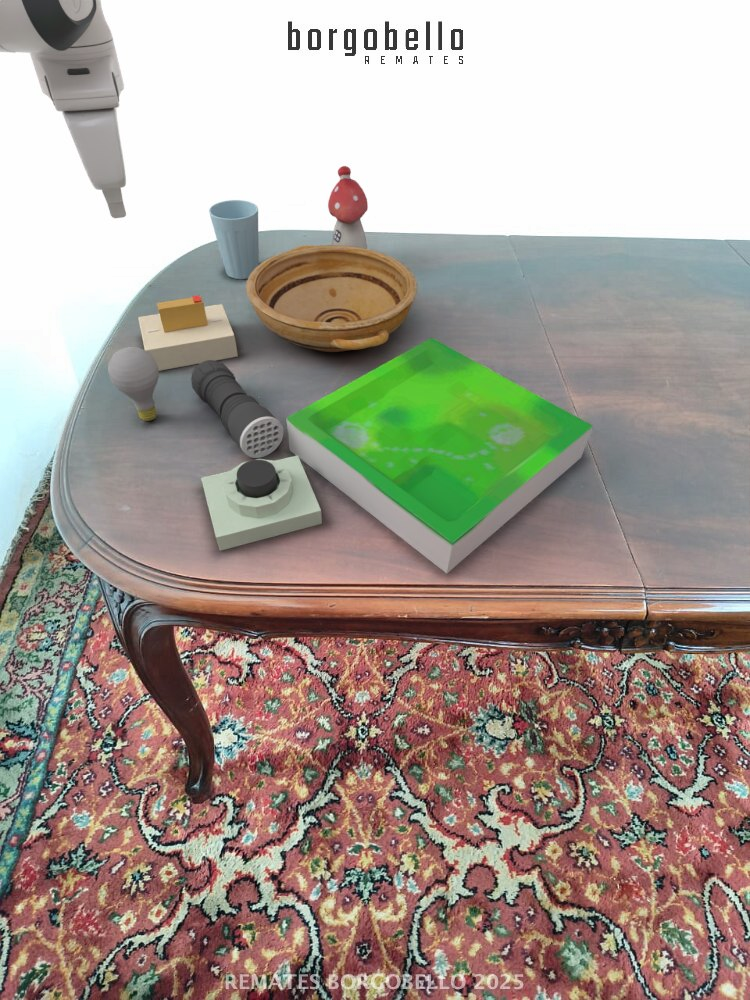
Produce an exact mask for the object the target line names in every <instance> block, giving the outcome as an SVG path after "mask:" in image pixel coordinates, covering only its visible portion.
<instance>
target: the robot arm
mask: <svg viewBox="0 0 750 1000" xmlns="http://www.w3.org/2000/svg"><path fill="white" fill-rule="evenodd" d="M0 53H14V54H15V53H25V54H27V53H28V54H29V55H30V58H31V61H32V65H33V67H34V71H35V73H36V77H37V80H38V83H39V85H40V90H41V92H42V93H43V95H45V96H46V97H48V98H49V100H50V101H52V104H53V106H54V108H55V110H56V111H57V112H61V114H62V117H63V118H64V121H65V123H66V126H67V128H68V130H69V133H70V135H71V138H72V140H73V143H74V146H75V148H76V151H77V153H78V155H79V158H80V160H81V163H82V165H83V168H84V171H85V172H86V175H87V177H88V179H89V181H90V183H91V185H92V186H93V188H94V189H95V190H98V191H102V195H103V197H104V199H105V201H106V204H107V207H108V210H109V214H110V216H111V218H113V219H122V218H125V217H126V216H127V212H126V208H125V204H124V199H123V194H122V188H124V187H126V185H127V178H126V177H127V176H126V168H125V167H126V166H125V162H124V161H125V160H124V155H123V149H122V142H121V135H120V129H119V121H118V111H117V108H119V107H120V95H121V92H122V91H124V90H125V84H124V80H123V75H122V71H121V67H120V62H119V59H118V54H117V50H116V46H115V42H114V38H113V33H112V31H111V29H110V26H109V24H108V22H107V20H106V18H105V14H104V11H103V7H102V0H0Z"/></svg>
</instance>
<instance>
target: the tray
mask: <svg viewBox="0 0 750 1000" xmlns="http://www.w3.org/2000/svg"><path fill="white" fill-rule="evenodd" d="M285 418H286V428H287V439H288V447H289V448H288V449H289V451H290V452H291V453H292V454H294V456H297V455H298V456H299V459H300V461H302V462H304V463H305V464H306V465H308V466H309V467H310V468H312V469H313V470H314V471H315V472H316V473H318V474H319V475H320V476H322V477H323V478H324V479H325V480H327V481H328V482H329V483H330V484H332V485H333V486H335V487H336V488H337V489H338V490H340V491H341V492H342V493H343V494H344V495H346V496H347V497H348V498H349V499H351V500H352V501H353V502H354V503H356V504H357V505H359V506H360V507H361V508H362V509H364V510H365V511H366V512H367V513H369V515H371V516H373V517H374V518H375V519H376V520H378V521H379V522H380V523H381V524H383V525H384V526H385V527H386V528H388V529H389V530H390V531H392V533H394V534H395V535H396V536H397V537H399V538H400V539H402V540H403V541H404V542H405V543H406V544H408V545H409V546H411V547H412V548H413V549H414V550H416V551H417V552H418V553H420V554H421V555H422V556H423V557H424V558H426V559H427V560H429V562H431V563H432V564H433V565H435V566H436V567H438V569H440V570H441V571H442V572H444V573H445V575H446V574H448V573H449V572H451V571H452V570H453V569H454V568H455V567H457V566H458V565H459V564H460V563H461V562H462V561H464V559H465V558H467V557H468V556H469V555H470V554H471V553H472V552H473V551H475V550H476V549H477V548H478V547H479V546H481V545H482V544H483V543H485V541H487V540H488V539H489V538H490V537H491V536H492V535H494V534H495V533H496V532H497V531H498V530H499V529H500V528H502V527H503V526H504V525H505V524H506V523H507V522H509V521H510V520H511V519H512V518H513V517H514V516H515V515H516V514H519V512H520V511H521V510H522V509H523V508H525V507H526V506H527V505H528V504H529V503H531V502H532V501H533V500H534V499H535V498H536V497H538V496H539V494H541V493H542V492H543V491H545V489H547V488H548V487H549V486H550V485H551V484H553V483H554V482H555V481H556V480H557V479H558V478H560V477H561V476H562V475H563V474H564V473H565V472H566V471H568V470H569V469H570V468H571V467H572V466H573V465H575V464H576V463H577V462H578V461H579V460H581V458H582V457H583V454H584V451H585V449H586V446H587V444H588V442H589V440H590V436H591V434H592V430H593V428H594V425H593V424H590V423H589V422H587V421H586V420H584V419H581V418H580V417H578V416H576V415H575V414H573V413H570V412H569V411H567V410H565V409H563V408H561V407H560V406H558V405H556V404H555V403H552V402H550V401H549V400H547V399H545V398H543V397H541V396H539V395H538V394H536V393H534V392H532V391H530V390H528V389H527V388H526V387H525V388H524V387H523V386H521V385H520V384H518V383H515V382H514V381H512V380H510V379H508V378H506V377H505V376H503V375H501V374H499V373H497V372H495V371H494V370H492V369H490V368H488V367H487V366H485V365H483V364H481V363H479V362H477V361H475V360H473V359H472V358H470V357H468V356H466V355H464V354H462V353H461V352H460V351H457V350H456V349H453V348H451V347H449V346H448V345H446V344H444V343H442V342H440V341H439V340H437V339H435V338H433V337H430V338H429V339H427V340H425V341H423V342H421V343H419V344H417V345H416V346H414V347H412V348H410V349H408V350H407V351H405V352H403V353H400V354H399V355H397V356H396V357H394V358H392V359H391V360H388V361H386V362H385V363H383V364H381V365H379V366H378V367H376V368H373V369H372V370H370V371H369V372H367V373H365V374H363V375H361V376H360V377H358V378H356V379H354V380H352V381H351V382H348V383H347V384H346V385H343V386H341V387H339V388H338V389H336V390H334V391H333V392H331V393H329V394H327V395H325V396H324V397H321V398H320V399H318V400H316V401H314V402H313V403H311V404H309V405H307V406H305V407H303V408H301V409H300V410H298V411H295V412H294V413H293V414H291V415H289V416H288V417H285Z"/></svg>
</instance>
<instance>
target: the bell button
mask: <svg viewBox="0 0 750 1000" xmlns="http://www.w3.org/2000/svg"><path fill="white" fill-rule="evenodd" d="M265 460H266V459H265ZM265 460H256V459H252V460H248V462H247V461H245V462H246V463H244V464H243V465H241V466H240V467H239V469H238V471H237V480H238V485H239V489H240V491H241V492H242V493H243V494H244V495H245V496H248V497H251V498H260V497H265V496H267V495H269V494H271V493H272V492H273V491H274V490H275V489H276V487H277V477H276V470H275V467H274V466H273V465H272V464H271V463H270V462H268V461H265Z"/></svg>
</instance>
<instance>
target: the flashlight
mask: <svg viewBox="0 0 750 1000" xmlns="http://www.w3.org/2000/svg"><path fill="white" fill-rule="evenodd" d="M190 381H191V387H192V389H193V391H194V392H195V394H196V395H197V396H198V397H199V399H200V400H202V402H204V403H205V404H208V405H209V406H210V408H211V409H212V410H214V411H215V412H216V413H217V414H218V415H219V416H220V419H221V423H222V424H223V426H224V427H225V429H226V430H227V431H228V432H229V434H230V437H231V439H232V440H233V441H234V442H235V443H236V445H237V446H238V447H239V448H240V450H241V451H242V452H243V453H244V454H245V456H247V457H249V458H253V459H261V458H264V457H266V456H268V455H270V454H272V453H273V452H274V451H275V450H276V449H277V448H278V447H279V446H280V444H281V443H282V441H283V438H284V426H283V424H282V423H281V422H280V420H279V419H277V417H275V416H274V414H273V413H271V411H270V410H269V409H268V408H266V407H265V406H263V405H262V404H261V403H260V402H259V400H257V399H256V398H255V397H254V396H252V395H249V394H247V393H246V391H245V390H244V389H243V388H242V386H241V384H240V383H239V382H238V381H237V379H236V377H235V374H234V373H233V372H232V371H231V369H229V368H228V366H227V365H225V364H224V363H223V362H221V361H219V360H216V361H214V360H207V361H204V362H202V363H199V364H196V366H195V367H194V369H193V371H192V372H191V377H190Z"/></svg>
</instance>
